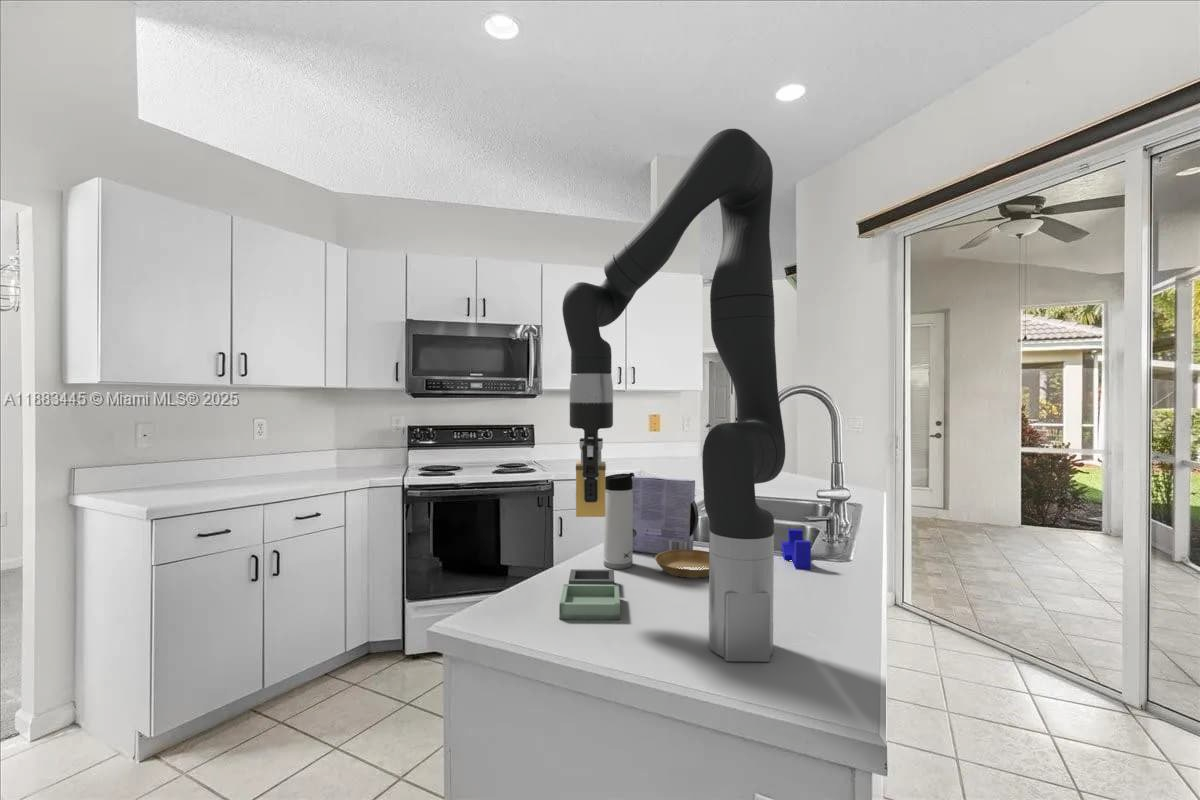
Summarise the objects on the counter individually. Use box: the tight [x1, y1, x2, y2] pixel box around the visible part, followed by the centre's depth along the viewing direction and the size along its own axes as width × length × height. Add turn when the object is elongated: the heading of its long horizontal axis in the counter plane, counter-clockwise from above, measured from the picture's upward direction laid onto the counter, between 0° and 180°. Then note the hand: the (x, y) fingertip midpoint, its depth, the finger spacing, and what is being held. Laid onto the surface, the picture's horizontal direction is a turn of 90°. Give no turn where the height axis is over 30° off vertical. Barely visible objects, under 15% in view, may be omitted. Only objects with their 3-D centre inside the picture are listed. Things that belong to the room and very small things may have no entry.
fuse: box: [575, 461, 607, 518], centre depth 102 cm, size 4×5×9 cm
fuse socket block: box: [568, 568, 615, 585], centre depth 112 cm, size 7×8×2 cm
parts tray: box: [558, 583, 621, 621], centre depth 102 cm, size 10×10×2 cm
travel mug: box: [603, 472, 635, 570], centre depth 127 cm, size 6×7×20 cm
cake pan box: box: [632, 474, 699, 555], centre depth 138 cm, size 19×5×18 cm, turn 70°
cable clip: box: [780, 528, 812, 571], centre depth 131 cm, size 12×4×6 cm, turn 170°
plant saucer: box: [654, 549, 709, 579], centre depth 124 cm, size 15×15×3 cm
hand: (591, 499), depth 102 cm, fingers closed on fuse, 3 cm apart
